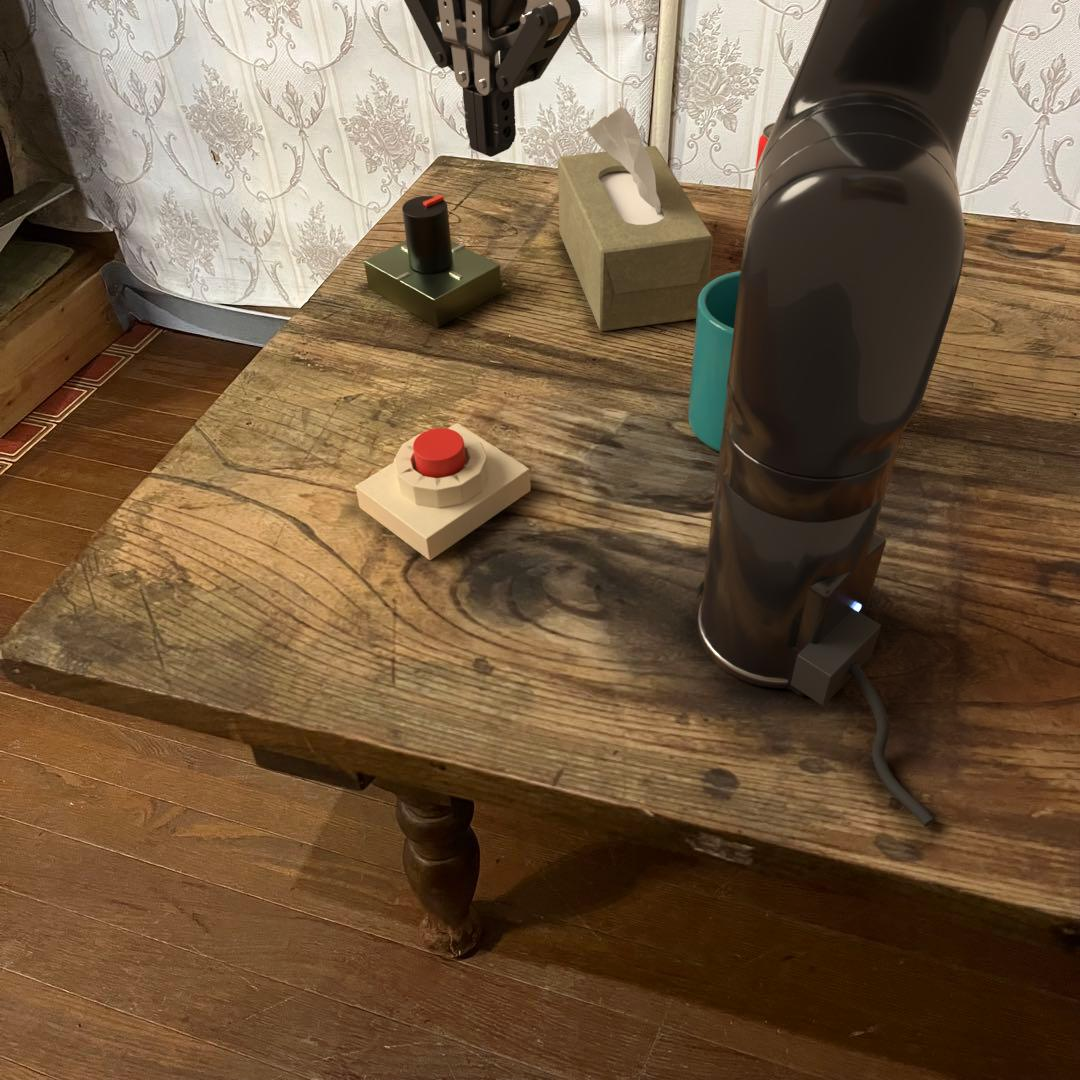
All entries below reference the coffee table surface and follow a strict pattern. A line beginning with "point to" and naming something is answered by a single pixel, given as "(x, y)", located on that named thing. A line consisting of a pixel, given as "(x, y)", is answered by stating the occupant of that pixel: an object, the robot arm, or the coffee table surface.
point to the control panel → (434, 283)
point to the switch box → (443, 494)
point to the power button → (439, 453)
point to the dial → (427, 233)
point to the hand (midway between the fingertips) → (492, 149)
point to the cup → (712, 358)
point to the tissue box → (631, 230)
